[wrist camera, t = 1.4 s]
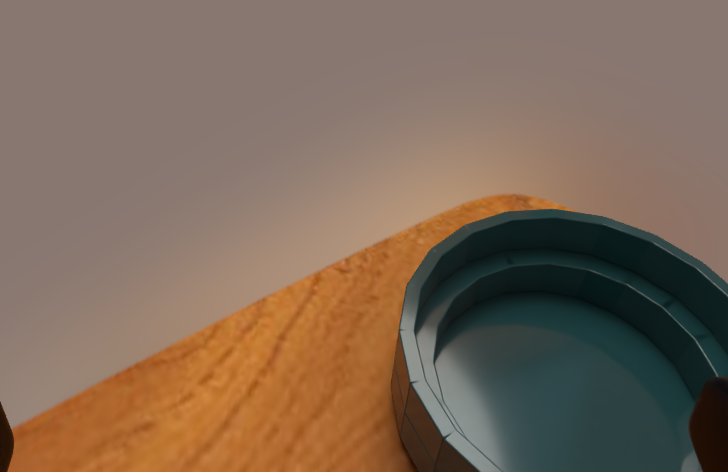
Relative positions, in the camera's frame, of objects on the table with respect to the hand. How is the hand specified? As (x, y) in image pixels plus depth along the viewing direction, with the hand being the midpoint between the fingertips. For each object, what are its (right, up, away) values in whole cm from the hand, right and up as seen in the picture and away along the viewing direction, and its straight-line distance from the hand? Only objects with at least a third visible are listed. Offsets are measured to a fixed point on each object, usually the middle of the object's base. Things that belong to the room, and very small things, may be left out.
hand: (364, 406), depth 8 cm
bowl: (+8, -5, +18) cm, 20 cm away
